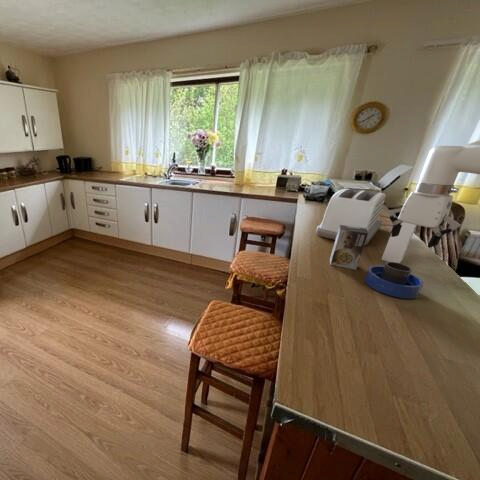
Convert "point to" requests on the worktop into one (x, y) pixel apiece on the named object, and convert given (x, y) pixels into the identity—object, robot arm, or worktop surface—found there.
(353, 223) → the toaster
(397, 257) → the milk
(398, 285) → the bowl
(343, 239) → the coffee box
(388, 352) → the worktop surface
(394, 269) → the cup
